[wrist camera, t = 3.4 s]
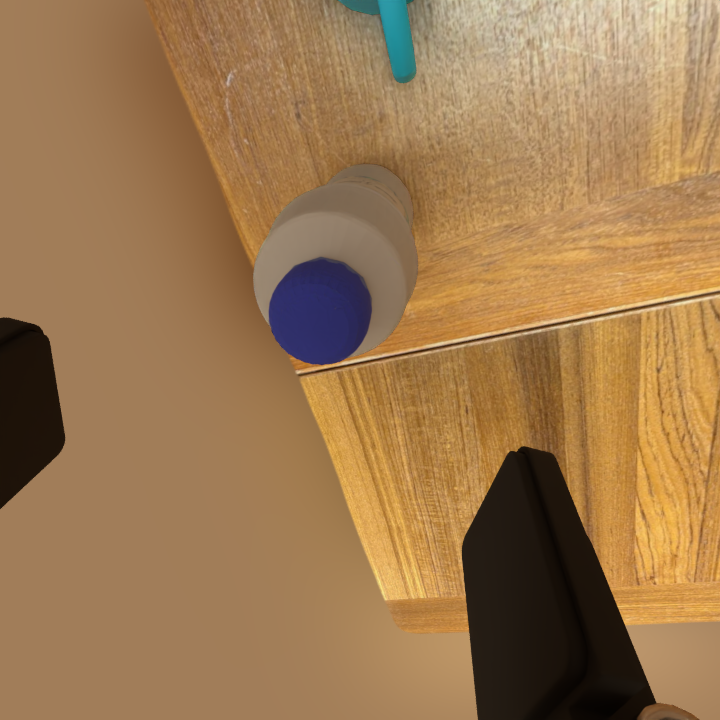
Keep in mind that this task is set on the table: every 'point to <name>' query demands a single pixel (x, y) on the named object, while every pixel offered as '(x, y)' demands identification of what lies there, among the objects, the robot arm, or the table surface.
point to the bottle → (339, 266)
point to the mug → (392, 33)
